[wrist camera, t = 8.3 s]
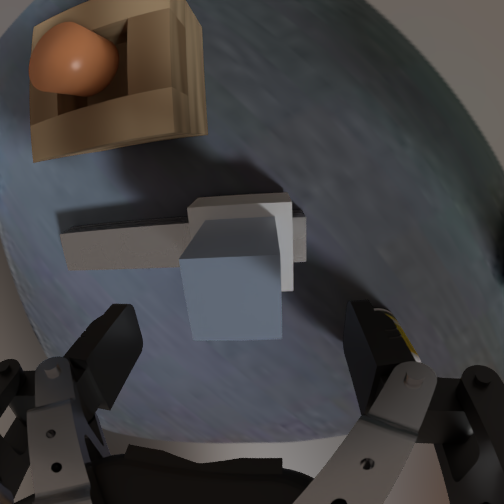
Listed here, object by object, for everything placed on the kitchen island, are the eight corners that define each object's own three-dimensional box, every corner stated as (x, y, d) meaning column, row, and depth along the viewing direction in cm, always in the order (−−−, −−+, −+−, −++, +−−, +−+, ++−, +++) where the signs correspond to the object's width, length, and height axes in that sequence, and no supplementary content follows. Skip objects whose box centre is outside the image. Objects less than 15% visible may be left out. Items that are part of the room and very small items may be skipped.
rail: (302, 209, 21) (305, 217, 19) (302, 251, 22) (306, 261, 20) (72, 226, 22) (59, 234, 20) (80, 260, 23) (68, 270, 21)
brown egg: (119, 31, 10) (87, 11, 7) (119, 88, 11) (84, 78, 8) (67, 49, 10) (31, 38, 7) (67, 103, 11) (27, 101, 8)
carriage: (287, 192, 20) (306, 233, 11) (289, 269, 22) (304, 351, 13) (198, 197, 20) (152, 241, 12) (206, 273, 22) (176, 353, 14)
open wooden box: (201, 27, 16) (170, -25, 9) (208, 134, 19) (174, 132, 12) (98, 52, 17) (33, 26, 9) (103, 150, 20) (33, 162, 12)
